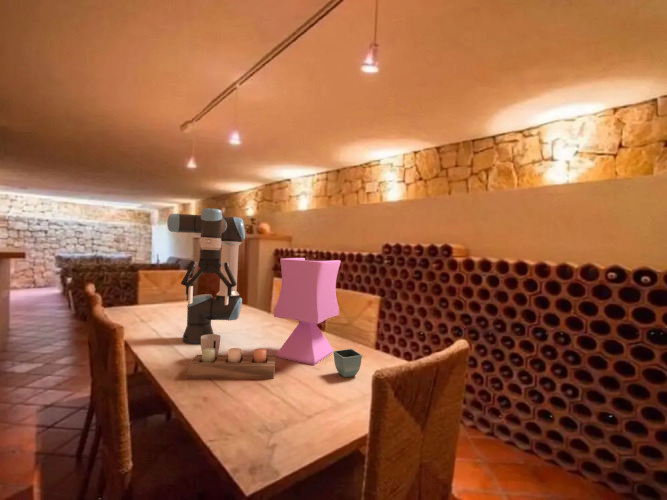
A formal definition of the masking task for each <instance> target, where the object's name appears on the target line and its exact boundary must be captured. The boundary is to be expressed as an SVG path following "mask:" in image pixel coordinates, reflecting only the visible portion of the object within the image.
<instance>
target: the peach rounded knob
mask: <svg viewBox="0 0 667 500" xmlns="http://www.w3.org/2000/svg"><path fill="white" fill-rule="evenodd" d="M227 355H228V363H240V362H241V355H242V349H241V348H239V347H234V348H229V349H228V354H227Z"/></svg>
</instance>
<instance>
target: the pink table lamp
mask: <svg viewBox="0 0 667 500" xmlns="http://www.w3.org/2000/svg"><path fill="white" fill-rule="evenodd" d="M340 266H341V260H338V259H336V260H334V259H333V260H306V258H305V257H287V258H280V269H281V285H280V290H279V291H280V293H279V296H278V299H277V302H276V304H275V308H274V310H273V318H279V319H289V320H290V319H291V320H294V321H299V322H298V324H297V325H296V327H295V328H294V330H293V331H292V332H291V333H290V335H289V336H288V338H287V339H286V340H285V342H283V344H282V346H281V347H280V348H279V349H278V351H277V352H276V358H279V359H282V360H283V359H284V360H287V359H288V361H292V360H293V362H296V361H297V362H298V363H301V362H302V363H301V364H305V365H306V364H307V365H310V364H311V366H316V365H317V364H319V363H320V362H322V361H323V360H325V359H326V358H328V357H329V356H328V355H330V354H331V353H332V352H333V353H334V348H333V347H332V345H331V343H330V342H329V341H328V339H327V338H326V336H325V335H324V333H323V332H322V331H321V329H320V328H319V326H318V324H320V323H323V322H324V321H325V320H327V319H329V318H333V317H335V318H336V317H337V316H339V315H340V307H339V303H338V298H337V291H336V290H337V288H336V287H337V277H338V272H339V269H340ZM331 355H332V354H331ZM331 355H330V356H331ZM327 356H328V357H327ZM325 357H326V358H325ZM324 358H325V359H324ZM322 359H323V360H322ZM321 360H322V361H321ZM319 361H320V362H319ZM318 362H319V363H318ZM315 364H316V365H315Z"/></svg>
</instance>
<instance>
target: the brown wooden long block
mask: <svg viewBox="0 0 667 500" xmlns="http://www.w3.org/2000/svg"><path fill="white" fill-rule="evenodd" d="M186 366H187V367H186V369H187V370H186V371H187V372H186V374H187V375H186V379H215V380H217V379H220V380H221V379H222V380H223V379H225V380H226V379H230V380H232V379H237V380H238V379H240V380H241V379H243V380H244V379H245V380H246V379H247V380H248V379H254V380H255V379H257V380H258V379H260V380H261V379H263V380H264V379H265V380H266V379H267V380H269V379H270V380H271V379H272V380H273V379H274V378H275V372H276V366H277V354H274V355H272V354H271V355H269V354H266V363H254V354H241V362H240V363H228V354H218V355H215V362H214V363H210V362H202V354H196V355H195V356H194V357H193V359H191V360H190V362H188V364H187V365H186Z"/></svg>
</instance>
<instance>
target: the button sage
mask: <svg viewBox="0 0 667 500" xmlns="http://www.w3.org/2000/svg"><path fill="white" fill-rule="evenodd" d="M201 355H202V362H210V363H214V362H215V349H214V348H205V349H203V350H201Z"/></svg>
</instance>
